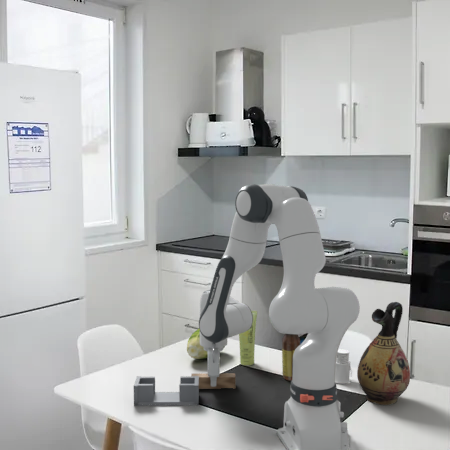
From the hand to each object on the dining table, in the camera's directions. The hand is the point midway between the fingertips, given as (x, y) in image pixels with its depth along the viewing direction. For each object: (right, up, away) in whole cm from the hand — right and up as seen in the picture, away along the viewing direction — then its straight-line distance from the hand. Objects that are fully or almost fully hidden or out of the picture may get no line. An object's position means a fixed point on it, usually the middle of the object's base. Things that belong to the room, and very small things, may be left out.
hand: (213, 381), depth 196 cm
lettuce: (-4, +1, +29) cm, 29 cm away
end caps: (-14, -3, -11) cm, 18 cm away
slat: (0, -2, 0) cm, 2 cm away
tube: (+11, 0, +22) cm, 25 cm away
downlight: (+42, -2, +6) cm, 42 cm away
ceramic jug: (+52, -3, -9) cm, 53 cm away
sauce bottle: (+26, -1, +8) cm, 27 cm away
